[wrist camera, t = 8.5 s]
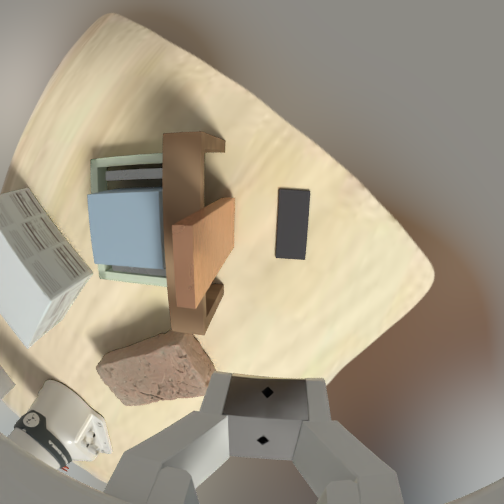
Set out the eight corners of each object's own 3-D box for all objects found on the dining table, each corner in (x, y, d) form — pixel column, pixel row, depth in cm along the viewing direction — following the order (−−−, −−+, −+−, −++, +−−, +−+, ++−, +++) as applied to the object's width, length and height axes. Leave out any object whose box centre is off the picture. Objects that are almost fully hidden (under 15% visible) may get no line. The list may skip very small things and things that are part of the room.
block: (184, 250, 31) (163, 269, 25) (122, 247, 32) (94, 263, 26) (182, 185, 29) (158, 191, 23) (118, 188, 30) (87, 194, 24)
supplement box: (6, 245, 35) (-33, 262, 26) (29, 186, 31) (-19, 196, 22) (62, 321, 37) (26, 351, 28) (95, 272, 33) (50, 302, 25)
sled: (233, 274, 30) (198, 349, 18) (121, 264, 32) (47, 316, 19) (235, 167, 27) (192, 169, 14) (115, 170, 28) (26, 182, 16)
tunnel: (223, 294, 32) (204, 335, 24) (197, 291, 32) (171, 330, 24) (225, 140, 27) (201, 131, 19) (196, 141, 27) (163, 133, 19)
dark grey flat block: (304, 259, 30) (305, 259, 29) (275, 257, 30) (275, 257, 30) (309, 191, 28) (310, 191, 27) (279, 189, 28) (279, 189, 28)
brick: (135, 391, 39) (124, 411, 35) (104, 351, 38) (89, 369, 33) (222, 370, 36) (215, 394, 31) (189, 321, 34) (176, 342, 29)
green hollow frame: (188, 281, 32) (183, 288, 30) (108, 272, 33) (99, 278, 31) (186, 152, 28) (180, 152, 26) (100, 158, 29) (90, 159, 27)
